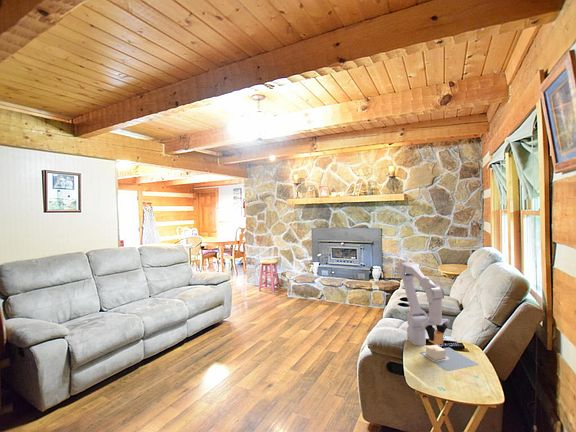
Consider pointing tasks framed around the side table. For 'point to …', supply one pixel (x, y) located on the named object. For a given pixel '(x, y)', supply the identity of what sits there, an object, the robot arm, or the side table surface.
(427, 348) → the base block
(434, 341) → the orange block
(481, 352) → the side table surface
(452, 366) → the board
